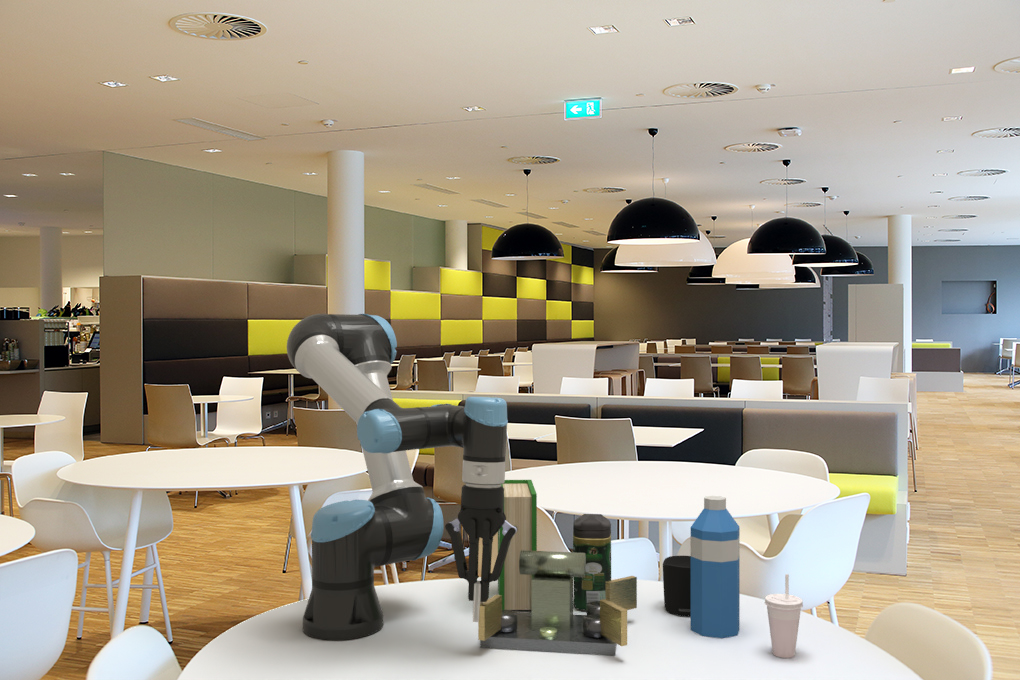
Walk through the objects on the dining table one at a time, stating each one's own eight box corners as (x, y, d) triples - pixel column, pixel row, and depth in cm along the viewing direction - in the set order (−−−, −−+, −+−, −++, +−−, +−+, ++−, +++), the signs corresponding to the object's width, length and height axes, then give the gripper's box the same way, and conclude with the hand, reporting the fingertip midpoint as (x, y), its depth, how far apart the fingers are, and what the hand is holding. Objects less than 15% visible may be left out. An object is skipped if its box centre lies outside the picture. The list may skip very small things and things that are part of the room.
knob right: (577, 630, 159) (577, 594, 159) (601, 626, 161) (601, 591, 161) (611, 651, 148) (611, 612, 148) (636, 646, 150) (636, 608, 150)
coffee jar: (574, 598, 186) (573, 510, 186) (611, 599, 185) (611, 511, 185) (571, 612, 176) (571, 520, 176) (611, 613, 175) (611, 521, 175)
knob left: (497, 621, 164) (497, 586, 164) (521, 625, 161) (521, 590, 161) (468, 641, 153) (468, 604, 153) (494, 645, 151) (494, 607, 151)
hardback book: (536, 613, 175) (536, 494, 175) (499, 614, 175) (499, 494, 175) (531, 588, 193) (531, 479, 193) (497, 588, 193) (497, 479, 193)
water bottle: (749, 629, 166) (749, 497, 166) (724, 642, 159) (724, 504, 159) (706, 618, 172) (706, 491, 172) (680, 630, 165) (680, 498, 165)
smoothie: (797, 663, 149) (797, 581, 149) (760, 656, 152) (760, 575, 152) (806, 651, 154) (807, 572, 154) (770, 645, 157) (770, 567, 157)
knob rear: (598, 624, 162) (598, 589, 162) (581, 617, 166) (580, 583, 166) (643, 612, 169) (643, 579, 168) (625, 606, 173) (625, 573, 173)
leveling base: (480, 647, 156) (479, 561, 156) (495, 620, 171) (495, 541, 171) (615, 655, 152) (615, 567, 152) (618, 627, 167) (618, 546, 167)
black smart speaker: (653, 610, 178) (653, 560, 178) (681, 600, 184) (681, 553, 184) (691, 621, 171) (691, 570, 171) (719, 611, 177) (719, 561, 177)
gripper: (442, 485, 152) (437, 622, 151) (514, 489, 149) (509, 629, 149) (453, 480, 159) (448, 611, 158) (522, 484, 157) (516, 617, 156)
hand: (477, 619), depth 154 cm, fingers closed
